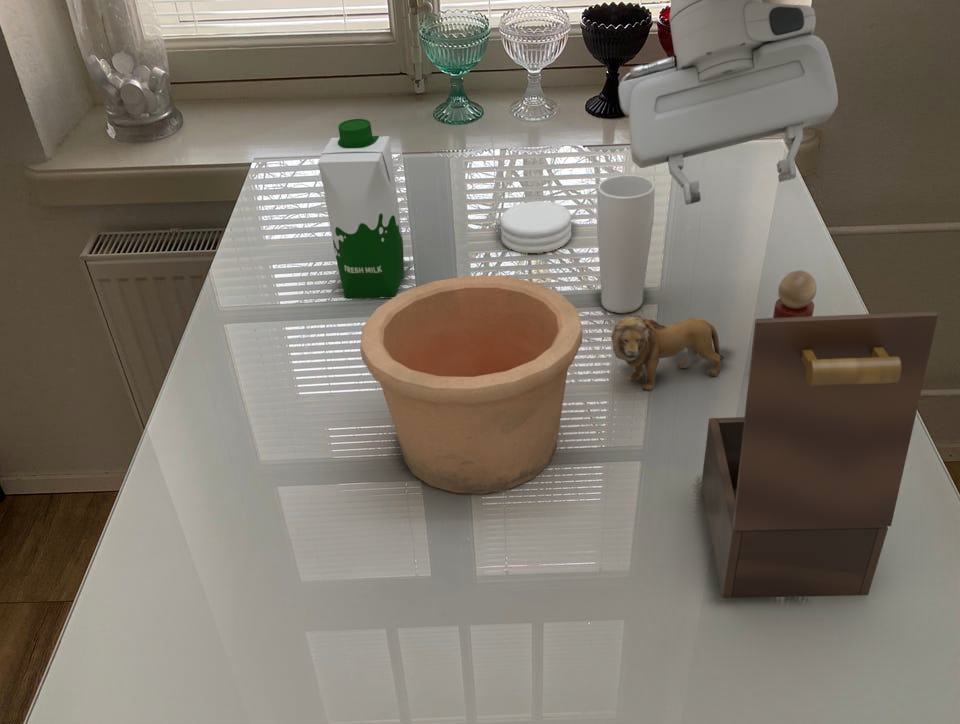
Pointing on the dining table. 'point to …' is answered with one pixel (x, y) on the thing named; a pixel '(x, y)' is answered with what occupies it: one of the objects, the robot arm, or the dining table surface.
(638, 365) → the lion figurine
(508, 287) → the pottery
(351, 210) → the milk carton
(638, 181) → the drinking glass
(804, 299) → the peg doll
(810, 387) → the lid
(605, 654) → the dining table surface
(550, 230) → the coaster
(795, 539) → the box
